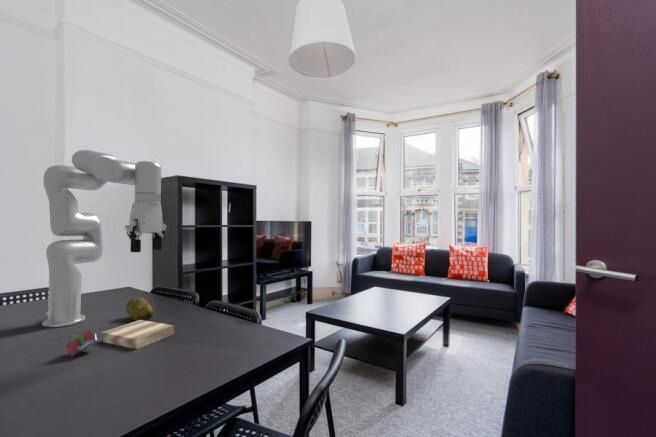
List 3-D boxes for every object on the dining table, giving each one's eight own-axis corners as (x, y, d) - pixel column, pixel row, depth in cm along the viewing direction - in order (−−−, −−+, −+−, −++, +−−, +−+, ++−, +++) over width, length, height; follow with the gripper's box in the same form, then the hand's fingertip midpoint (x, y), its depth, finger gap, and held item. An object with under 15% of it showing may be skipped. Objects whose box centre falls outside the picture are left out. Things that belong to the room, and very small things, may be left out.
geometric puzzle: (67, 355, 85) (87, 327, 90) (52, 351, 88) (72, 323, 92) (89, 362, 91) (107, 335, 95) (75, 358, 93) (93, 332, 98)
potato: (130, 325, 117) (130, 304, 117) (124, 317, 127) (125, 297, 127) (154, 320, 122) (155, 300, 123) (147, 313, 132) (148, 294, 132)
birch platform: (101, 341, 101) (101, 332, 101) (140, 327, 114) (140, 319, 114) (136, 349, 95) (137, 339, 95) (173, 334, 108) (173, 325, 108)
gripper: (156, 201, 112) (155, 248, 112) (116, 197, 95) (115, 253, 94) (175, 201, 111) (174, 249, 110) (137, 197, 94) (136, 253, 93)
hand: (146, 250), depth 102 cm, fingers open, 9 cm apart
